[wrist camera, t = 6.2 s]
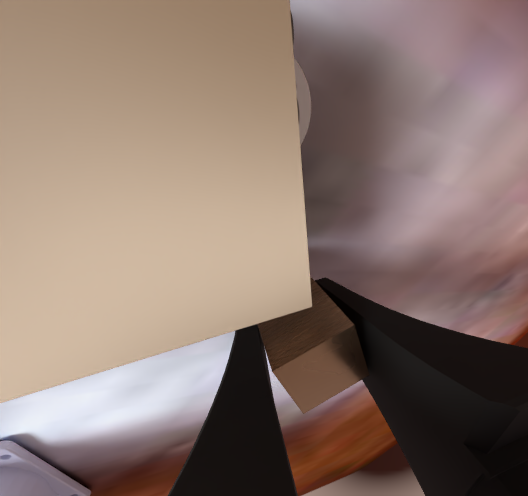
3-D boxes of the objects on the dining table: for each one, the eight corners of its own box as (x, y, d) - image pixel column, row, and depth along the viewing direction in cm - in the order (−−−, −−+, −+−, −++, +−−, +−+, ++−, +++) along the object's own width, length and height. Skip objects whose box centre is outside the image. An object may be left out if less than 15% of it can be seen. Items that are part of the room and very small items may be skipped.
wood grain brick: (300, 285, 13) (369, 375, 7) (262, 306, 13) (303, 413, 7) (189, 30, 7) (135, -405, 2) (115, 64, 7) (-219, -293, 1)
